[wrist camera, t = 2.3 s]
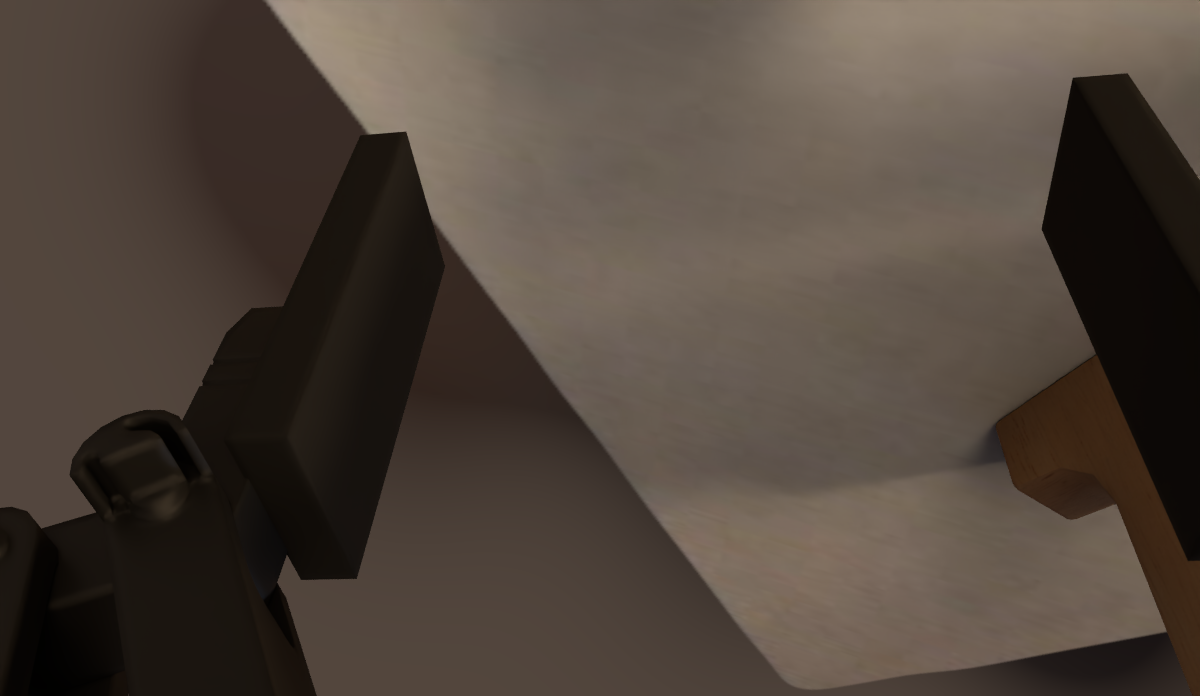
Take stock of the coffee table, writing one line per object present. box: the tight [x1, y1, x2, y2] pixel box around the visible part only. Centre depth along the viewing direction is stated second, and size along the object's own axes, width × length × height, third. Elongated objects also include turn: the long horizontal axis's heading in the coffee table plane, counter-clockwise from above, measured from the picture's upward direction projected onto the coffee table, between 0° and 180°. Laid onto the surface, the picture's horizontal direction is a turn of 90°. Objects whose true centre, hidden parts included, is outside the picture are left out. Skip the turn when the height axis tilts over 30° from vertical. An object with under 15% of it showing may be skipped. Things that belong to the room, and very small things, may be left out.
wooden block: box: [996, 355, 1200, 696], centre depth 45 cm, size 9×4×18 cm, turn 146°
